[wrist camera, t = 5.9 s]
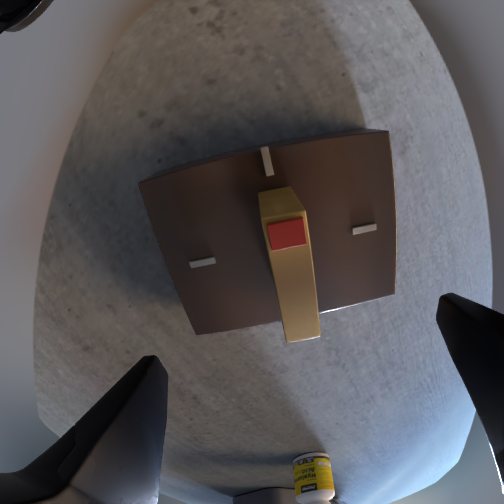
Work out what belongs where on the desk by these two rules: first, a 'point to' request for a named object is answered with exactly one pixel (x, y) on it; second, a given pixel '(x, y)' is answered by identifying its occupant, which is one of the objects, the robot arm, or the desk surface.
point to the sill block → (251, 231)
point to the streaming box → (268, 497)
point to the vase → (336, 501)
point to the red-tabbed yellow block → (290, 262)
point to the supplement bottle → (313, 479)
